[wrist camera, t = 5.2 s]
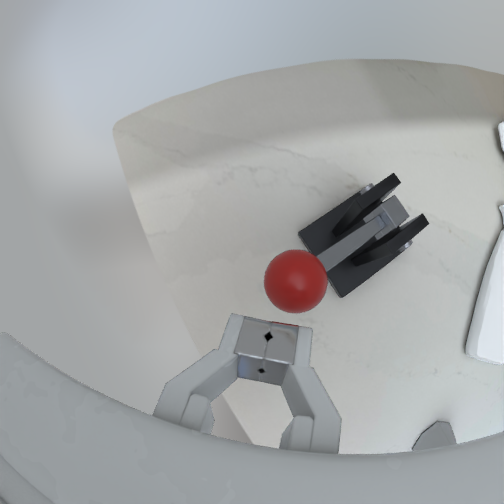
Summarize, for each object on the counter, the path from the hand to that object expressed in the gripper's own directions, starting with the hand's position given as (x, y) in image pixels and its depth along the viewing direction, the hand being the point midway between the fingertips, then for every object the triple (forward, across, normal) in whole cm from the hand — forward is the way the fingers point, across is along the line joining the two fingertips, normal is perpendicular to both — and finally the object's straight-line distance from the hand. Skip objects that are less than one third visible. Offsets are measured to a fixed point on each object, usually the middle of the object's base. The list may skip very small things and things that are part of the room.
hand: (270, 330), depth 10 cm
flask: (+2, -28, +28) cm, 40 cm away
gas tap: (+22, -8, +9) cm, 25 cm away
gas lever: (+10, -4, +3) cm, 11 cm away
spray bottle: (+20, -34, +10) cm, 41 cm away
